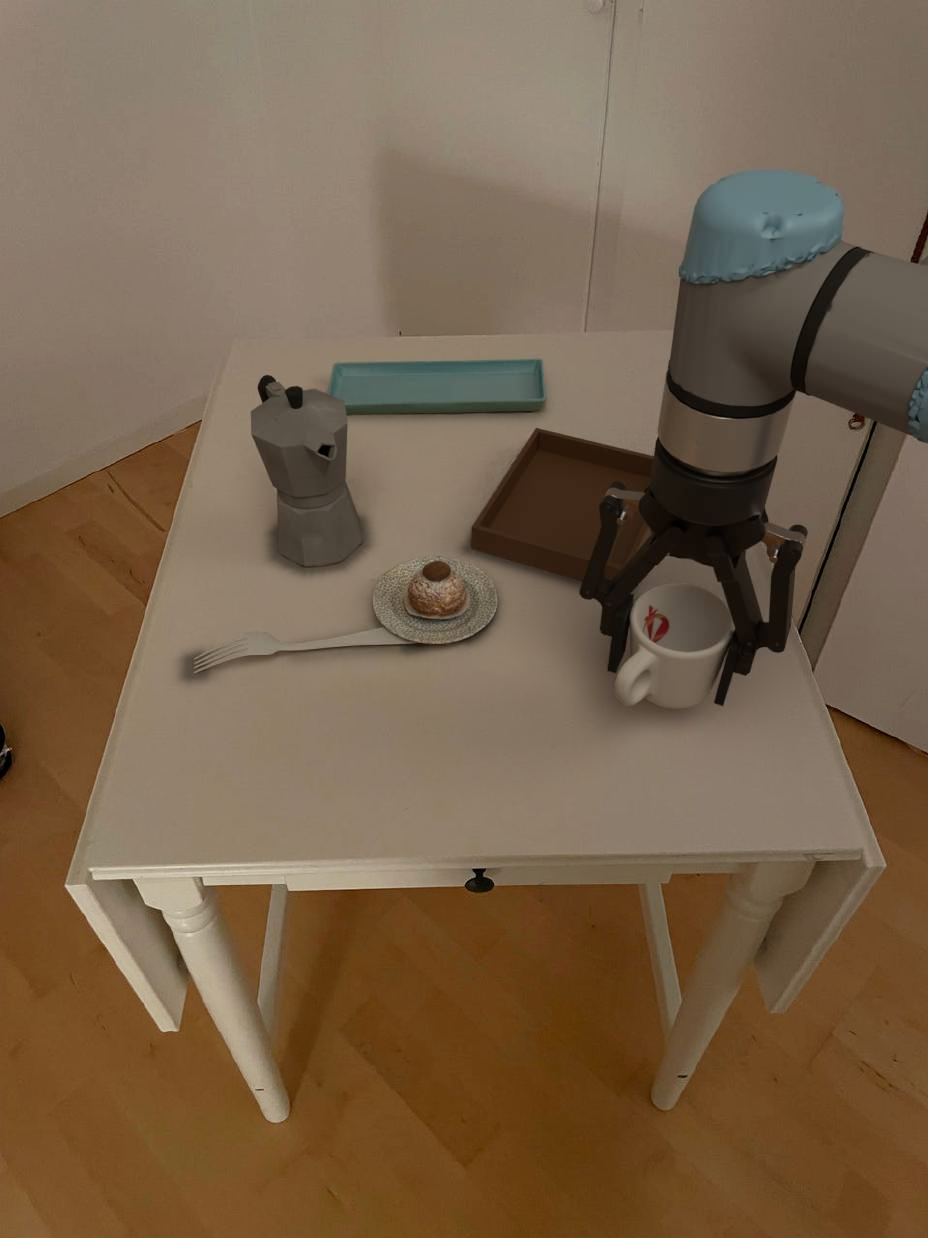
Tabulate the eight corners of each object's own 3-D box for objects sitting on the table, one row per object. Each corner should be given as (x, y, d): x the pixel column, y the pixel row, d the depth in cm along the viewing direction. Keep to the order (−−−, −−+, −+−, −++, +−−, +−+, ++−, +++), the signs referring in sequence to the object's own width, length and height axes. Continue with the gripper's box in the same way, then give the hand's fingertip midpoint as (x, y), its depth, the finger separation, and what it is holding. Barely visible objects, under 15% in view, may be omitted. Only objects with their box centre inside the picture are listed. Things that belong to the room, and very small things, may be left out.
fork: (421, 662, 86) (423, 643, 84) (193, 677, 83) (189, 657, 81) (417, 640, 88) (419, 621, 86) (194, 654, 85) (191, 634, 83)
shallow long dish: (326, 419, 110) (324, 401, 108) (335, 376, 116) (332, 359, 114) (545, 417, 109) (546, 400, 107) (542, 375, 115) (543, 357, 113)
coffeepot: (390, 557, 93) (375, 407, 80) (306, 593, 90) (276, 443, 76) (323, 478, 102) (299, 331, 89) (244, 508, 99) (207, 360, 85)
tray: (673, 483, 100) (677, 461, 98) (624, 593, 89) (627, 570, 87) (534, 449, 105) (536, 427, 103) (471, 549, 94) (471, 527, 91)
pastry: (484, 661, 83) (486, 625, 80) (357, 640, 85) (353, 604, 81) (506, 573, 91) (509, 538, 88) (390, 556, 93) (388, 521, 90)
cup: (653, 759, 71) (664, 693, 65) (579, 700, 75) (583, 634, 69) (740, 685, 75) (757, 617, 70) (665, 634, 80) (675, 567, 74)
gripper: (900, 445, 56) (809, 681, 73) (578, 378, 62) (561, 609, 79) (885, 519, 52) (792, 753, 68) (539, 439, 58) (530, 671, 74)
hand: (668, 675), depth 74 cm, fingers closed on cup, 8 cm apart
